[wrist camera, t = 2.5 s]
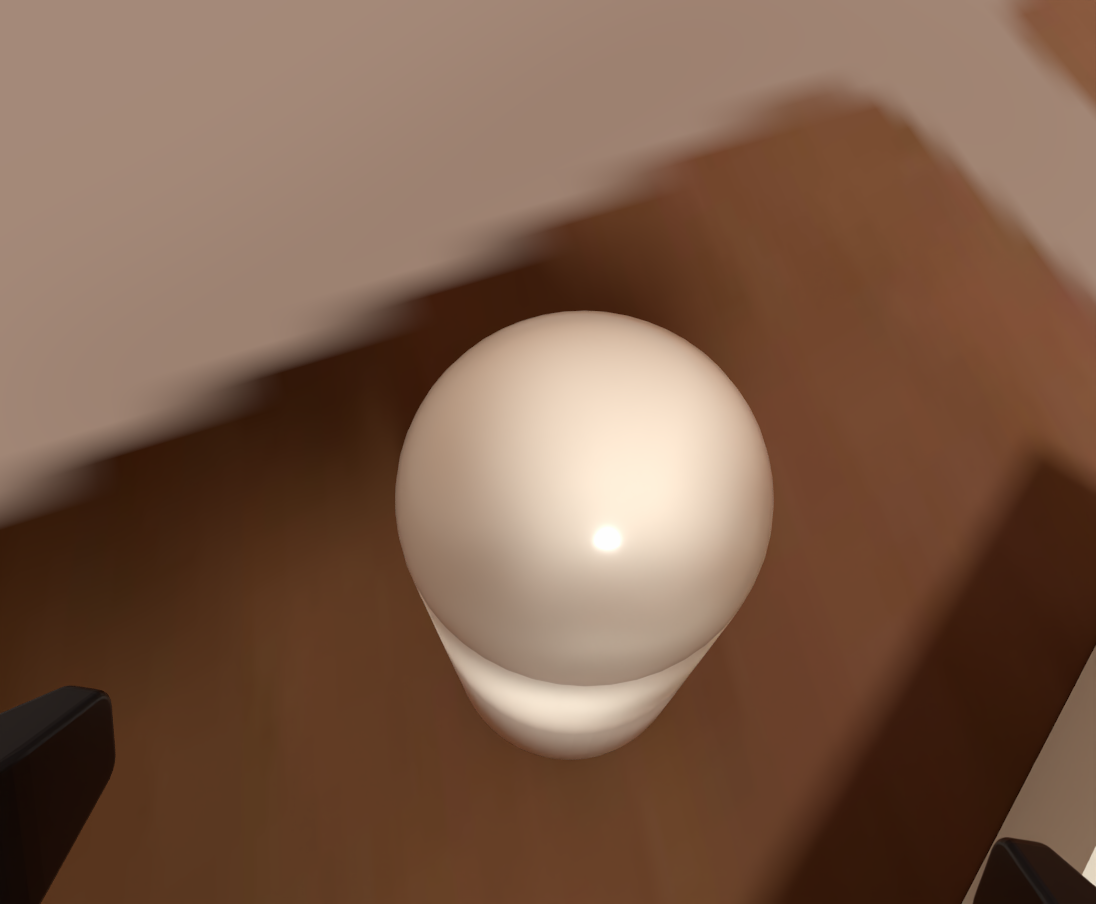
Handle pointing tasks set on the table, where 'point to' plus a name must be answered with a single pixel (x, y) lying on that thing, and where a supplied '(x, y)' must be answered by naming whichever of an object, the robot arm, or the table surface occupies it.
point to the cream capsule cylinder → (581, 523)
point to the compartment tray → (1061, 786)
